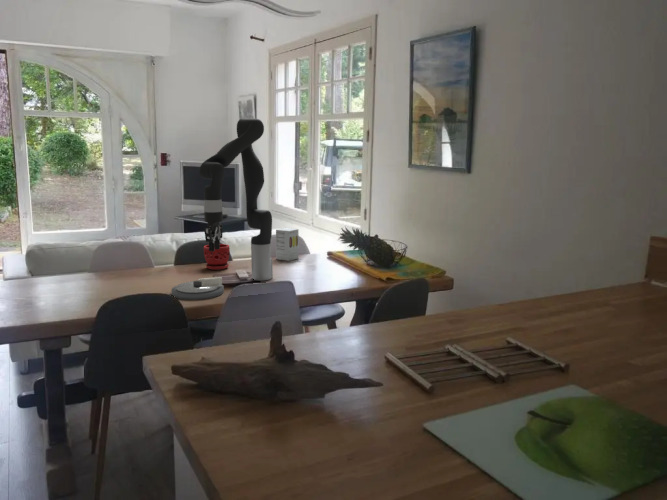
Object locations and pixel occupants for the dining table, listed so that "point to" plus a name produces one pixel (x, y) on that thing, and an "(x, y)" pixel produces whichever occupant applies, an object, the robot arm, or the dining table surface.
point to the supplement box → (287, 244)
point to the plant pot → (217, 257)
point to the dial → (200, 285)
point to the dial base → (199, 295)
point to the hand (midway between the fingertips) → (214, 250)
